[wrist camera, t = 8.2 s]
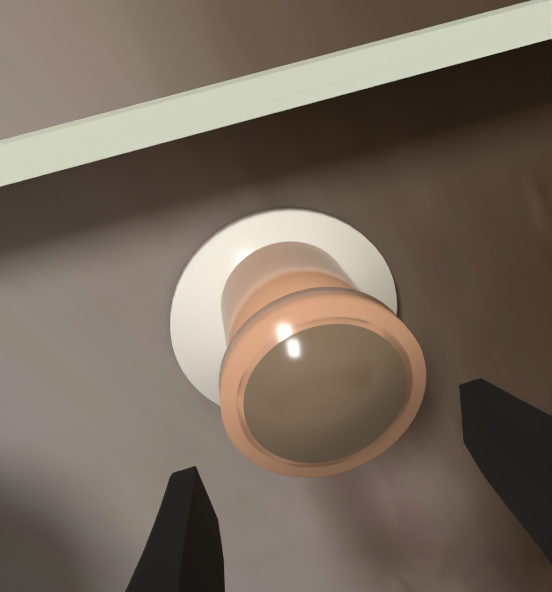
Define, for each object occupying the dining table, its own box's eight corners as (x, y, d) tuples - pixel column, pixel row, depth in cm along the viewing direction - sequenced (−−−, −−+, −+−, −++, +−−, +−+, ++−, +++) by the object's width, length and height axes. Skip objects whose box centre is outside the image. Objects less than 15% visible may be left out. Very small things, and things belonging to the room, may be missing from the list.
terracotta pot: (369, 344, 20) (435, 444, 15) (233, 384, 20) (251, 502, 15) (345, 212, 18) (416, 276, 12) (189, 256, 18) (192, 341, 12)
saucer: (401, 373, 22) (408, 383, 22) (208, 430, 22) (209, 443, 21) (373, 179, 18) (381, 183, 18) (137, 245, 18) (135, 252, 17)
